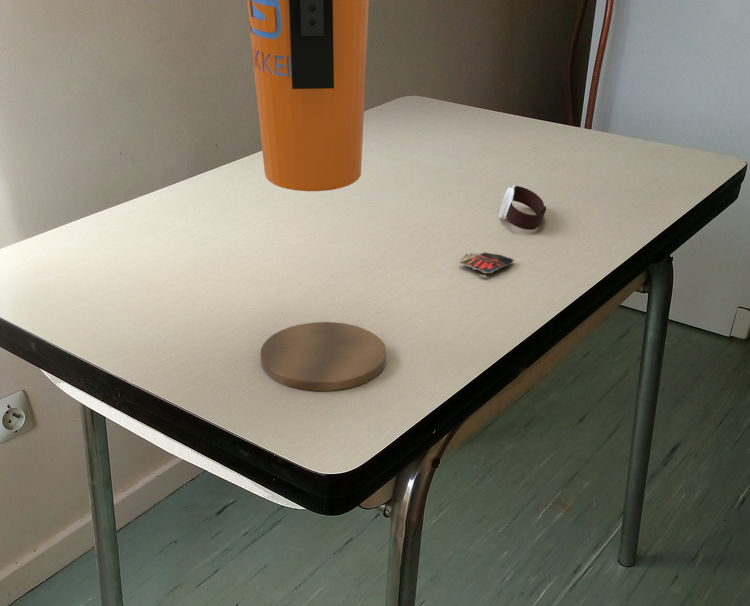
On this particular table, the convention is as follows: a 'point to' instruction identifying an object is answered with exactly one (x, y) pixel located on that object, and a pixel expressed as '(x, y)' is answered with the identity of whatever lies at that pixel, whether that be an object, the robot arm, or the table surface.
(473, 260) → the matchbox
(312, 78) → the robot arm
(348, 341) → the coaster
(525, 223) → the watch
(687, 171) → the table surface
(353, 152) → the shaker bottle
